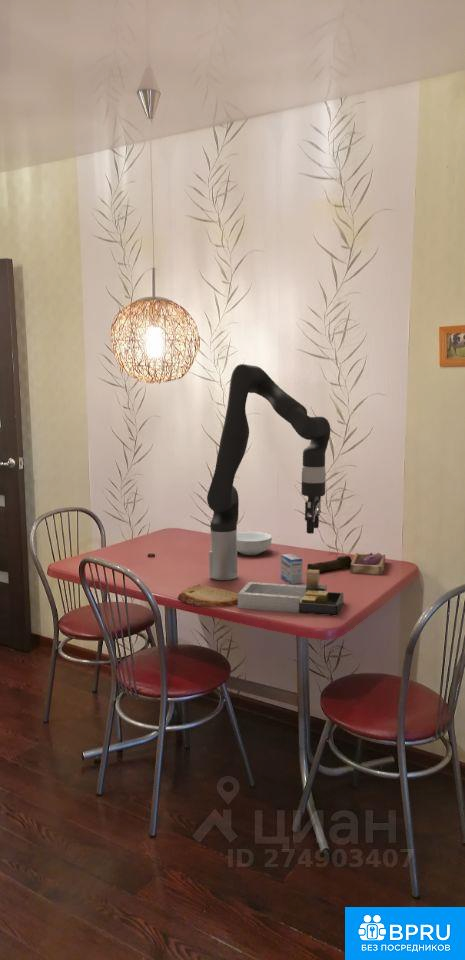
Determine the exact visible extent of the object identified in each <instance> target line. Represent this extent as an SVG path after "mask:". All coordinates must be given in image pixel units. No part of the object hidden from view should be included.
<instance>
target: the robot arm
mask: <svg viewBox="0 0 465 960" xmlns="http://www.w3.org/2000/svg"><path fill="white" fill-rule="evenodd" d="M230 376H231V377H230V382H229V390H228V391H229V392H228V399H227V400H228V401H227V407H226V412H225V418H224V422H223V423H224V424H223V428H222V431H221V435H220V436H221V437H220V442H219V447H218V452H217V457H216V463H215V468H214V469H215V470H214V473H213V476H212V480H211V482H210V486H209V489H208V492H207V495H206V501H207V505H208V507H209V509H210V510H211V511H213V514H212V518H211V520H210V526H209V527H210V551H208V558H209V559H208V560H209V561H208V563H209V565H208V566H209V579H212V580H217V581H230V580H235V579H237V578H238V551H237V533H238V530H237V529H238V528H237V525H238V521H239V494H238V491H237V488H236V487H235V486H234V481H235V477H236V473H237V471H238V470H239V467H240V465H241V463H242V460H243V458H244V457H245V453H246V452H247V451H246V450H247V447H248V443H249V438H250V437H249V436H250V426H249V421H248V418H247V413H246V405H247V399H248V396H249V395H248V394H255V395H258V396H261V397H262V398H264V399H265V400H266V401H268V402H269V403H270V405H271V407H272V408H273V410H274V411H275V413H276V414H278V416H280V417H281V418H282V419H284V420H285V421H286V422H287V423H289V424H290V425H291V427H292V428H293V429H294V431H295V432H296V433H297V434H298V436H300V437H301V438H303V439H305V440H307V441H310V442H309V445H308V446H307V447H305V448H304V449H303V451H302V469H301V495H302V496H304V497H307V501H305V503H304V504H305V505H304V508H305V509H304V521H305V522H306V534H311V535H312V534H314V533H315V529H318V528H319V524H320V522H319V521H320V516H321V513H322V511H321V510H322V509H321V505H322V503H321V502H322V501H321V499H322V497H323V496H325V495H326V478H327V477H326V474H327V473H326V451H327V450H328V445H329V440H330V436H331V425H330V422H329V420H328V419H327V418H325V417H324V416H309V415H308V410H307V408H306V407H305V406H304V405H303V404H302V403H300V402H299V401H298V400H296V399H295V398H294V397H292V396H291V395H289V394H288V393H287V392H286V391H285V390H283V389H282V388H281V387H280V385H278V384H277V383H276V382H275V381H274V380H273V379H272V378H271V377H270V376H269V375H268V373H266V371H265V370H264V369H263V368H262V367H261V366H260V367H259V366H257V365H252V364H245V363H240V364H238V365H236V366H235V367H234V369H233V370H232V373H231V374H230Z"/></svg>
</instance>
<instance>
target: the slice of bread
mask: <svg viewBox="0 0 465 960" xmlns="http://www.w3.org/2000/svg"><path fill="white" fill-rule="evenodd" d="M177 599H179V600H180V601H182V602H183V603H185V604H188V605H194V606H198V607H210V608H220V607H221V608H223V607H224V608H225V607H226V608H227V607H234V606H238V593H237V592H234V591H229V590H227V589H223V588H222V589H221V588H219V587H213V586H207V585H204V584H203V585H201V584H196V585H192V586H190V587H188V588H186V589H184V590H182V591H181V592H180V593H179V594H178V596H177Z"/></svg>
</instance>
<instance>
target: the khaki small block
mask: <svg viewBox="0 0 465 960" xmlns="http://www.w3.org/2000/svg"><path fill="white" fill-rule="evenodd" d="M317 593H318V591H310V590H307V592H306V593H305V596H316V594H317Z"/></svg>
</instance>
